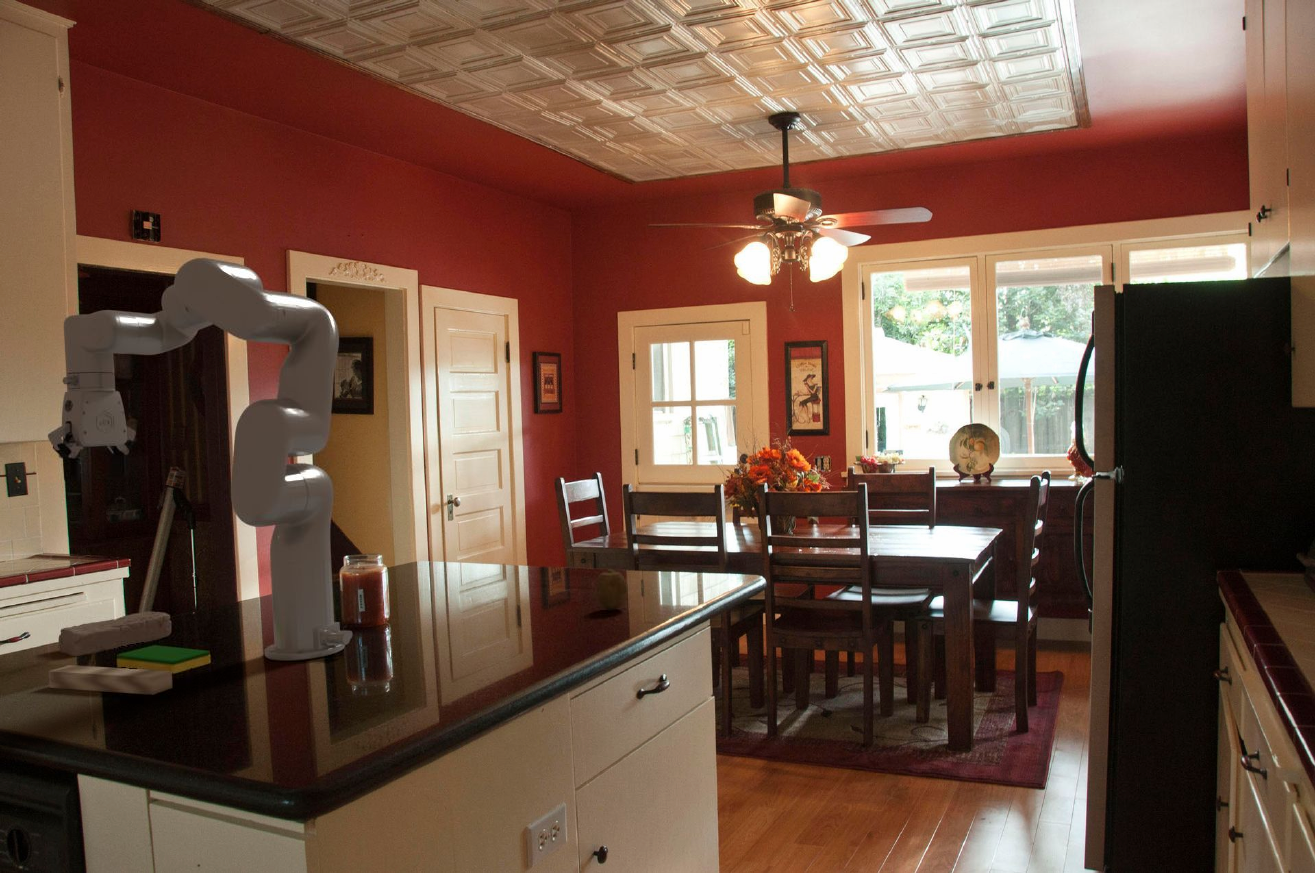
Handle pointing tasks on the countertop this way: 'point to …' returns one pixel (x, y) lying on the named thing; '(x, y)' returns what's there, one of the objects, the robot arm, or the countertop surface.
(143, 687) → the batten
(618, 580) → the fruit
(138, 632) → the brick
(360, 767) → the countertop surface
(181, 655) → the dish sponge
